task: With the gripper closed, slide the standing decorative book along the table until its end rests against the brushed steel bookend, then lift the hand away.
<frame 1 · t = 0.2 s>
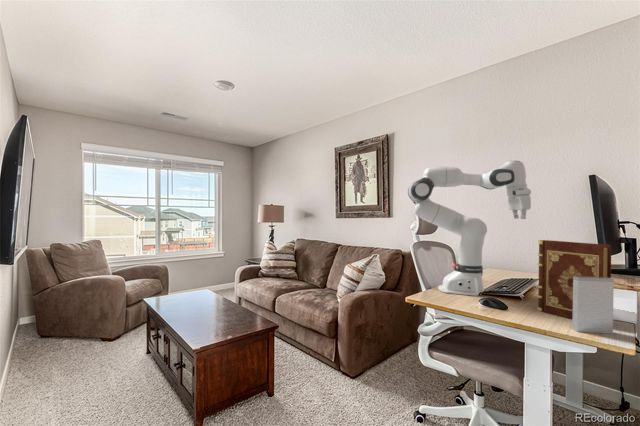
hand: (519, 218, 154), 39 cm above the table, tool pointing down, fingers open, 8 cm apart
decorative book: (569, 316, 122), on the table
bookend: (592, 331, 106), on the table
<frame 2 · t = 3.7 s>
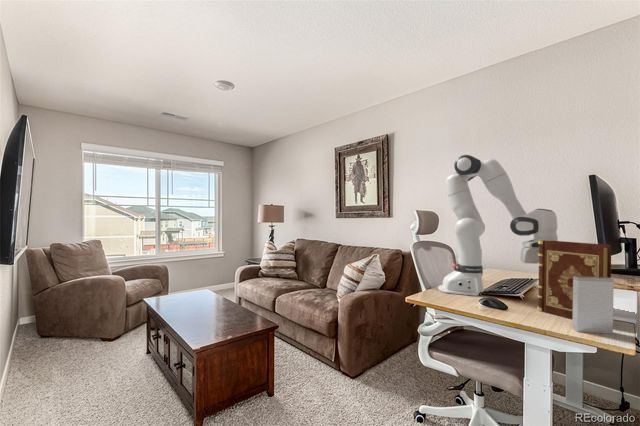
hand: (546, 273, 139), 14 cm above the table, tool pointing down, fingers closed
nothing on the table moved.
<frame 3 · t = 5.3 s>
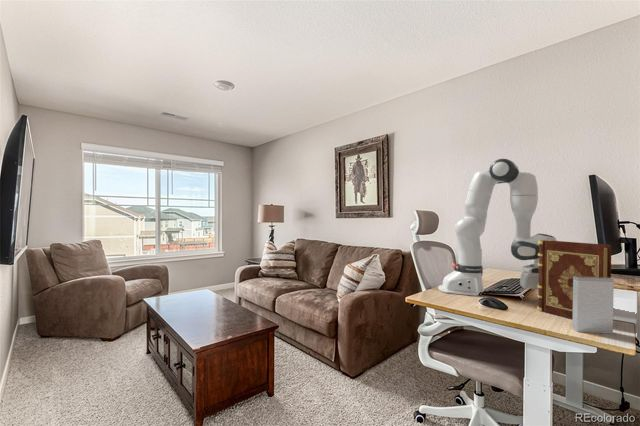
hand: (545, 298, 139), 2 cm above the table, tool pointing down, fingers closed
nothing on the table moved.
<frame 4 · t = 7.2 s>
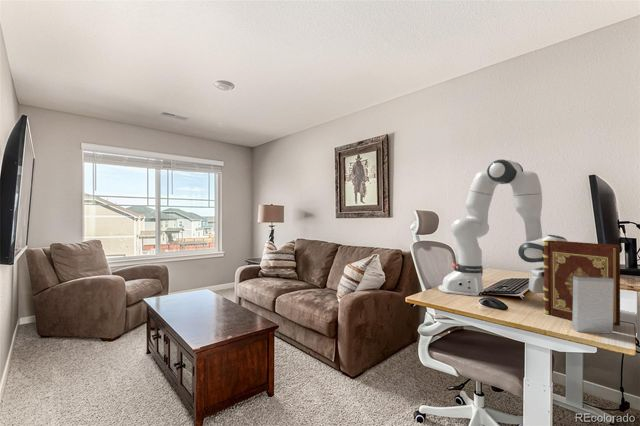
hand: (555, 303, 131), 2 cm above the table, tool pointing down, fingers closed
decorative book: (577, 319, 118), on the table, touching arm
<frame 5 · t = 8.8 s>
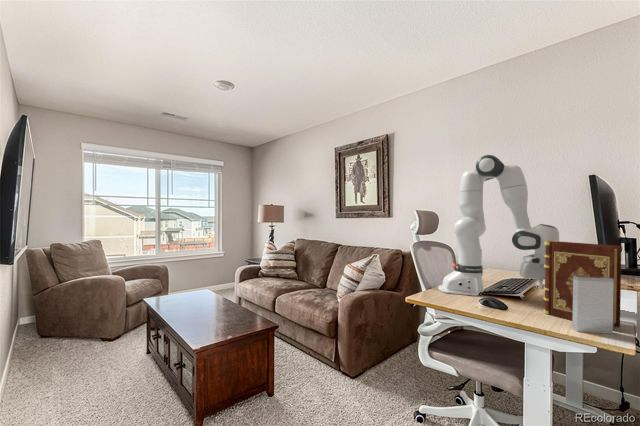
hand: (544, 288, 140), 6 cm above the table, tool pointing down, fingers closed
decorative book: (577, 320, 118), on the table
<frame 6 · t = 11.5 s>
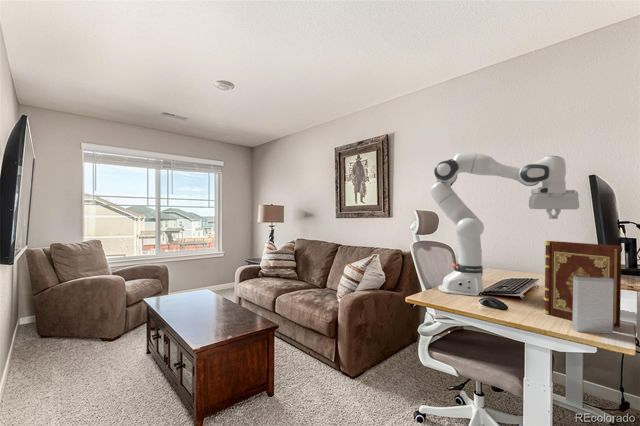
hand: (553, 218, 143), 39 cm above the table, tool pointing down, fingers closed
nothing on the table moved.
at the end: decorative book 0.7 cm from the target spot, on the table; decorative book tilted 0° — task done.
